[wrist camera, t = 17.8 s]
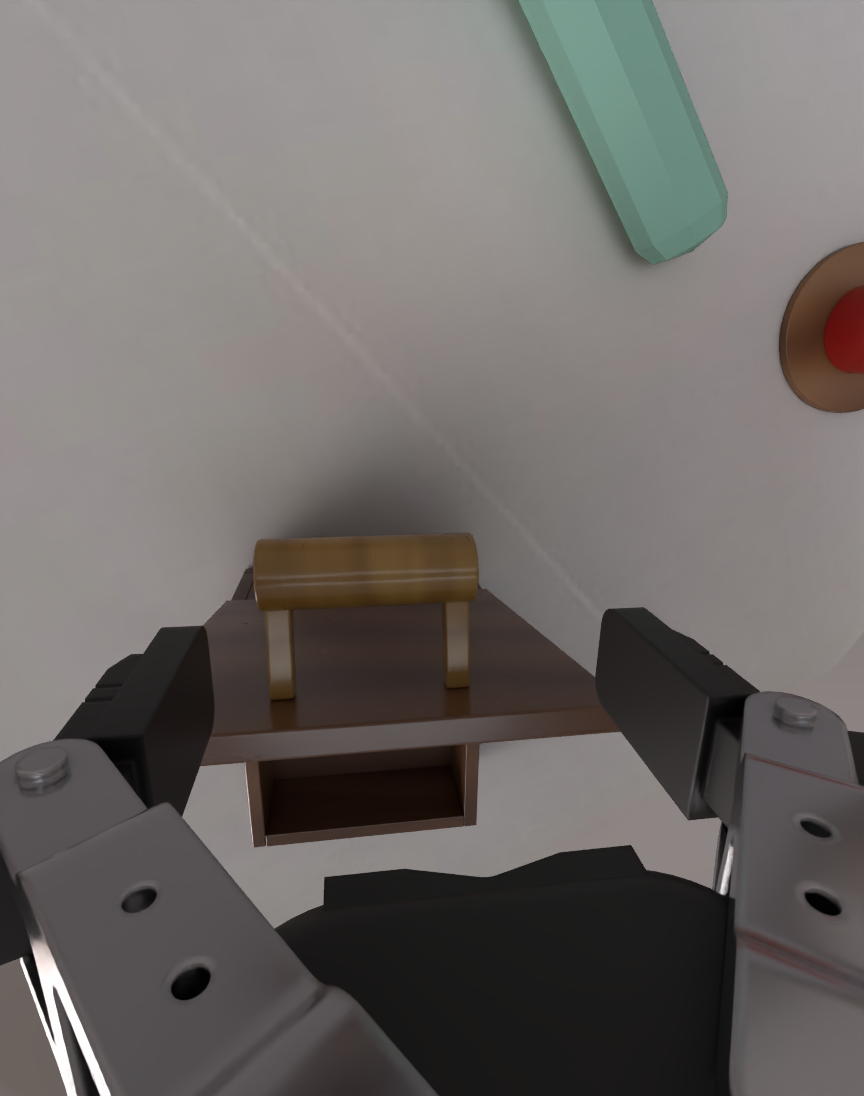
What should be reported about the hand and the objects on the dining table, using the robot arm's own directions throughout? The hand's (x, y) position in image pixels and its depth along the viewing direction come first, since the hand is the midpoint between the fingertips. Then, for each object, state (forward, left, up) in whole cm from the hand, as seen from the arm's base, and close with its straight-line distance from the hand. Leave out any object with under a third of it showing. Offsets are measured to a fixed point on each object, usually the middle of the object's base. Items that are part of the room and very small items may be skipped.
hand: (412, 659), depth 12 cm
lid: (-5, +2, -10) cm, 11 cm away
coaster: (-3, -32, -25) cm, 40 cm away
